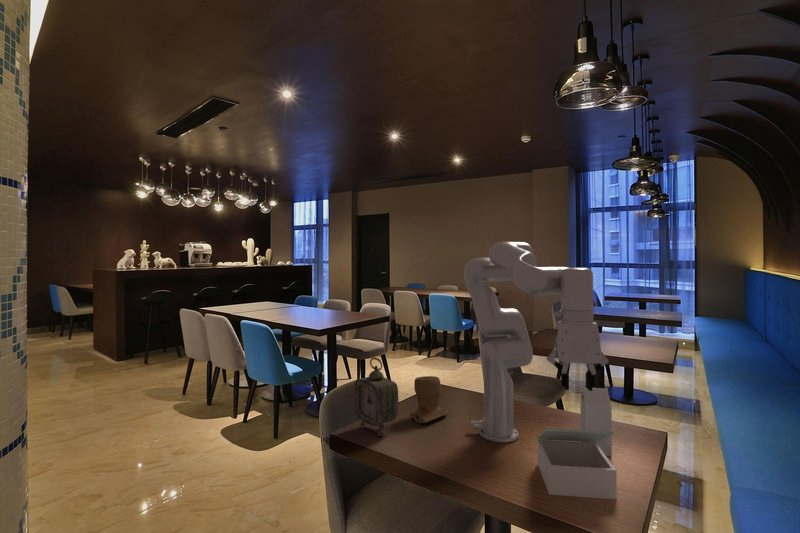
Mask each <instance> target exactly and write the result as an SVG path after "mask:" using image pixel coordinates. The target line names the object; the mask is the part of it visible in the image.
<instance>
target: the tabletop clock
mask: <svg viewBox="0 0 800 533" xmlns="http://www.w3.org/2000/svg"><path fill="white" fill-rule="evenodd" d="M373 360H375V361H378V363H379V364H380V367H379V368H378V365H374V366H373V364H372V361H373ZM369 364H370V367H371V369H373V370H372V371H371V372H370V373H369V375H368V377H363V378H358V379H356V380H355V384H354V406H355V407H354V409H355V413H356V416H357V418H359V420H361V421H362V422H360V423H359V426H360V427H361V426H364V427H365V424H367V425H369V426H373V427H377V426H378V428H379V429H378V432H377V437H379V436H381V437H382V436H383V432H382V429H381V428H383V429H384V428H385V425H384V424H387V423H390V422H393V421H395V420H396V418H397V417H398V415H399V403H400V402H399V388H398V384H397V383H396V382H395V381H393V380H391V379H388V378H387V377H384V376H385V375H384V373H382V372H381V370H382V369H383V363H382V361H381V359H380V358H378V357H371V358H370V360H369Z"/></svg>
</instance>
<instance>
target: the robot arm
mask: <svg viewBox="0 0 800 533" xmlns="http://www.w3.org/2000/svg"><path fill="white" fill-rule="evenodd" d="M463 269H464V270H463V280H464V284H465V288H466V289H467V292H468V294H469V296H470V298H471V302H472V305H473V310H474V314H475V318H476V322H477V325H478V328H479V332H480V334H482V336H484V337H488V338H489V337H504V336H505V337H506V336H507V338H502V339H501V338H499V339H491V340H488V341H486V342H484V343H483V345H481V347H480V359H481V365H482V370H483V371H482V372H483V412H484V413H483V417H482V419H480V420H470V427H473V428H474V430H478V429H479V435H480V436H481V437H482V438H483V439H484V440H488V441H490V442H494V443H510V442H511V443H512V442H514V441H517V440H518V439H519V436H520V435H519V434H520V433H519V431H518V430H517V429H516V428H514V424H515V423H514V418H515V417H514V382H513V379H512V377H511V375H510V373H509V372H508V369H514V368H520V367H521V368H522V367H526V366H528V365H530V364H531V363H532V361H533V357H534V356H533V354H534V353H533V346H532V343H531V340H530V336H529V332H528V330H527V329H528V328H527V325H526V321H525V319H524V316H523V315H522V312H520V311H519V310H518V309H516V308H513V307H503V308H502V307H501V306H500V304H499V300H498V296H497V294H496V292H495V291H494V290H493V289H492V288H491V287H490V286H489V285H488V284H487V283H490V282H491V283H492V282H496V283H497V282H508V281H511V280H512V282H513V284H514V285H515V287H517V288H518V289H520V290H522V291H524V292H525V293H527V294H530V295H533V296H560V309H559V311H555V312H554V317H555V318H558V319H560V320H559V321H558V323H557V326H556V333H555V342H554V343H555V344H554V348H553V349H552V351H551V352H550V353H549V354H548V355H547V357H546V360H547V362H549V363H550V364H551V365H553V366H555V367H556V368H557V370H558V371H559V372H560V384H561V386H563V388H564V390H565V391H569V390H570V374H569V373H568V369H569V365H570V364H579V365H580V364H581V365H584V364H585V365H586V368H587V370H586V372H585V388H587V389H588V390H589V391H592V388H595V375H596V374H597V372H598V371H600V370H601V368H602V367H605V365H607V364H608V363H609V362H610V361H609V359H608V358H607V356H606V355H605V354H604V353H603V351H602V347H601V338H600V330H599V326H598V323H597V322H594V274H593V271H592V270H591V269H590V268H588V267H568V266H537V259H536V256H535V253H534V249H533V248H532V246H531V245H530V244H529V243H527V242H525V241H499V242H496V243H494V244H493V245H492V246H490V248H489V251H488V257H486V256H485V257H476V258H472V259H470V260H468V261H467V262H466V264H465V266H464V268H463ZM556 359H558V361H560V362H558V361H557V360H556Z"/></svg>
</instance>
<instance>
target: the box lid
mask: <svg viewBox="0 0 800 533" xmlns="http://www.w3.org/2000/svg"><path fill="white" fill-rule="evenodd" d="M611 435H612V436H613V435H614V431H613V430H612V431H594V430H581V429H570V428H552V427H550V428H549V427H547V428H545V429H544V430H543V431H541V433H540V434H539V435H538V436H537V437H536V439H537V440H552V441H571V442H598V441H600V440H603V439H605V438H607V437H609V436H611Z"/></svg>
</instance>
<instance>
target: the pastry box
mask: <svg viewBox="0 0 800 533" xmlns="http://www.w3.org/2000/svg"><path fill="white" fill-rule="evenodd" d="M568 465H574V466H568ZM537 467H538V468H539V471H540V474H541V477H542V479H543V482H544V484H545V487H546V491H547V493H548V495H551V496H552V495H553V496H565V497H577V498H578V497H579V498H590V499H591V498H593V499H604V500H605V499H606V500H607V499H608V500H617V499H618V497H617V493H618V492H617V491H618V490H617V478H618V477H617V469H616V468H615V466H614V465H613V463H612V462H611V461H610V460H609V458H608V456H605V454H604V453H603V452H602V450H601V449H600V447H599V446H598V445H597V443H590V442H577V441H558V440H539V439H537Z"/></svg>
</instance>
